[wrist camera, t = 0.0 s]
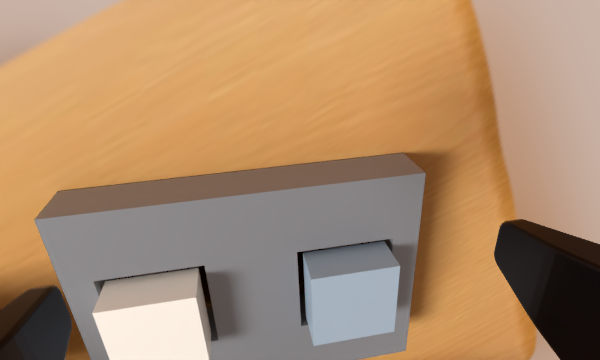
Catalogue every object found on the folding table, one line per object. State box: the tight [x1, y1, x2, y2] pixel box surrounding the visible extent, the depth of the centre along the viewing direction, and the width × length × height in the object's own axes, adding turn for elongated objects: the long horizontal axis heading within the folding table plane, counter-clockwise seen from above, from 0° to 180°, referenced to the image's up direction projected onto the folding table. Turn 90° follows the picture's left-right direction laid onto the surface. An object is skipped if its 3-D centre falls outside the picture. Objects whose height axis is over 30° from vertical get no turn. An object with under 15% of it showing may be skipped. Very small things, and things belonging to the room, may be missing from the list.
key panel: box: [35, 153, 426, 360], centre depth 24 cm, size 14×20×3 cm
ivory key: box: [92, 268, 211, 360], centre depth 22 cm, size 5×5×2 cm
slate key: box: [303, 241, 400, 346], centre depth 23 cm, size 5×5×2 cm
